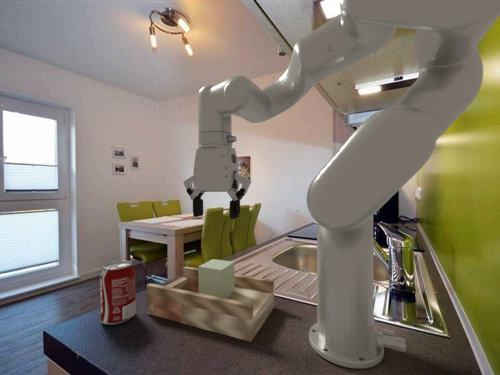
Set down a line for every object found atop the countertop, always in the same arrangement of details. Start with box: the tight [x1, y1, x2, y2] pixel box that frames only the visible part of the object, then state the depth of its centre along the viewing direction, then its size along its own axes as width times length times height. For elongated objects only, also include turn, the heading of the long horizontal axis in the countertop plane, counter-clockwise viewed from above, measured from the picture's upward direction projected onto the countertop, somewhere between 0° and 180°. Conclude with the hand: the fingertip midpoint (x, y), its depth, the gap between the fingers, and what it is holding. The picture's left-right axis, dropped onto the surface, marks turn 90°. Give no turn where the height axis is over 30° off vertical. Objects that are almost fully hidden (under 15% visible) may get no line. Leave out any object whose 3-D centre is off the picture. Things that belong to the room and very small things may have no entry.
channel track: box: [145, 266, 275, 343], centre depth 57 cm, size 26×14×6 cm, turn 66°
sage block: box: [198, 258, 235, 299], centre depth 56 cm, size 6×6×7 cm
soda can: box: [99, 260, 137, 326], centre depth 54 cm, size 7×7×12 cm
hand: (215, 217), depth 56 cm, fingers open, 9 cm apart
